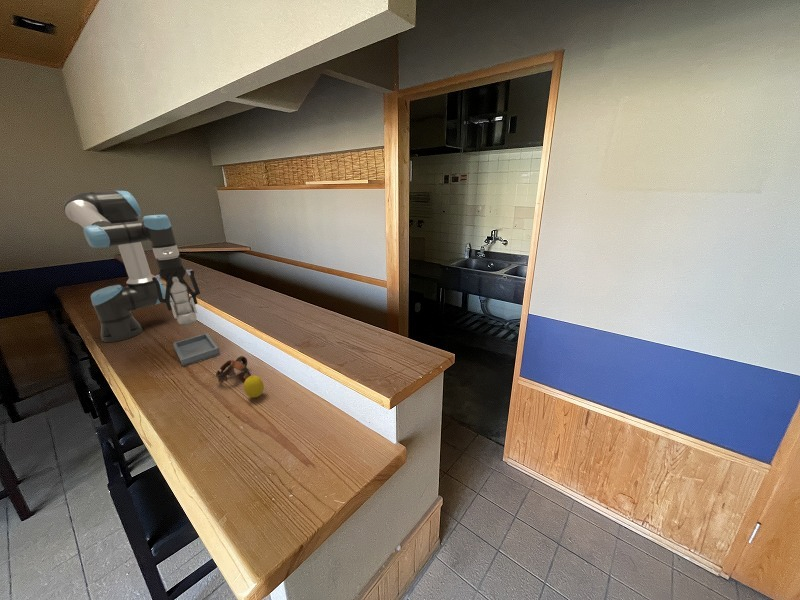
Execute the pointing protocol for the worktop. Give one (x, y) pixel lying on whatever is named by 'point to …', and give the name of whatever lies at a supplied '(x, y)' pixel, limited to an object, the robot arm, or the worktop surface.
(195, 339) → the tray
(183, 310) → the plastic bottle
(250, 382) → the lemon
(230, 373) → the brown irregular piece
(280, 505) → the worktop surface
